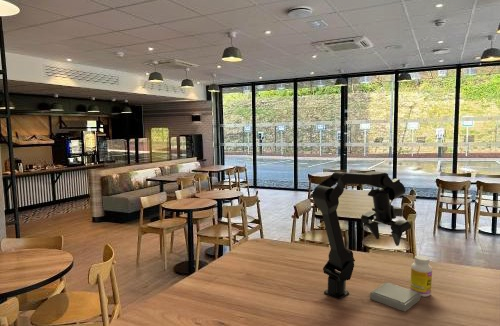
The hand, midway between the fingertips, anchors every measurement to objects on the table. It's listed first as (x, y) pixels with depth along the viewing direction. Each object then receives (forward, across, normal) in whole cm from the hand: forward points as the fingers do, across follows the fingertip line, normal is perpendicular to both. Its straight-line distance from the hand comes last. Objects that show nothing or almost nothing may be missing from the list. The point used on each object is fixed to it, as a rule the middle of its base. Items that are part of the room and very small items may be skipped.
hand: (387, 242), depth 137 cm
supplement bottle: (+15, -14, +2) cm, 20 cm away
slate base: (+12, -13, +14) cm, 22 cm away
